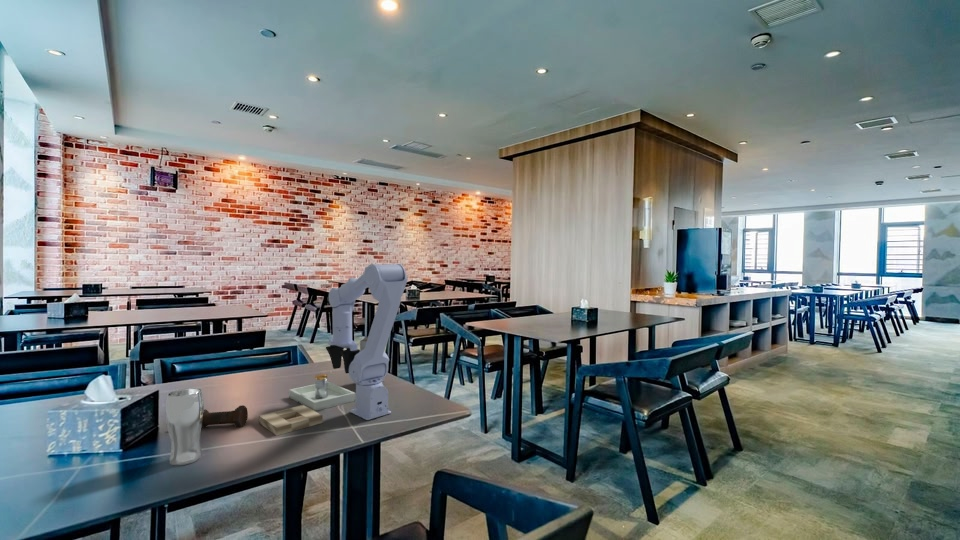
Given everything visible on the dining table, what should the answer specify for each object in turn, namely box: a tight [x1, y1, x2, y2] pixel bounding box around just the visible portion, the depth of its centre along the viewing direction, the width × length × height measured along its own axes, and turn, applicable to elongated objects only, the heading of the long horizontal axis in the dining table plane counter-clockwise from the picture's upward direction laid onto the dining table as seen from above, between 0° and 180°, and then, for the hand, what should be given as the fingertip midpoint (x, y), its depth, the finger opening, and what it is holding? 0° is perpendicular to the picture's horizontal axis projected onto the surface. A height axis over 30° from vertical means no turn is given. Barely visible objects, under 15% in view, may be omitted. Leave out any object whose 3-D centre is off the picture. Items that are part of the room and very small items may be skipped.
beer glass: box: [165, 387, 205, 467], centre depth 97 cm, size 7×7×15 cm
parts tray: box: [288, 380, 356, 412], centre depth 138 cm, size 18×13×2 cm
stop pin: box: [314, 373, 328, 399], centre depth 138 cm, size 4×4×7 cm
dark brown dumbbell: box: [201, 405, 249, 430], centre depth 116 cm, size 6×5×15 cm
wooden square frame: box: [258, 404, 324, 436], centre depth 118 cm, size 12×12×2 cm
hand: (342, 370), depth 137 cm, fingers open, 7 cm apart
